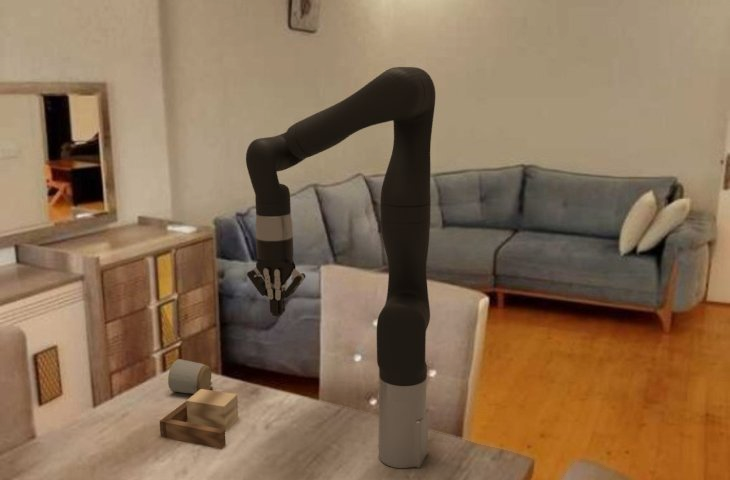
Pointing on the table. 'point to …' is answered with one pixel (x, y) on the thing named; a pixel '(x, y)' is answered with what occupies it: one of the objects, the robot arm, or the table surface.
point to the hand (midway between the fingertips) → (277, 315)
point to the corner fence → (191, 429)
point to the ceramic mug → (188, 376)
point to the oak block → (212, 409)
